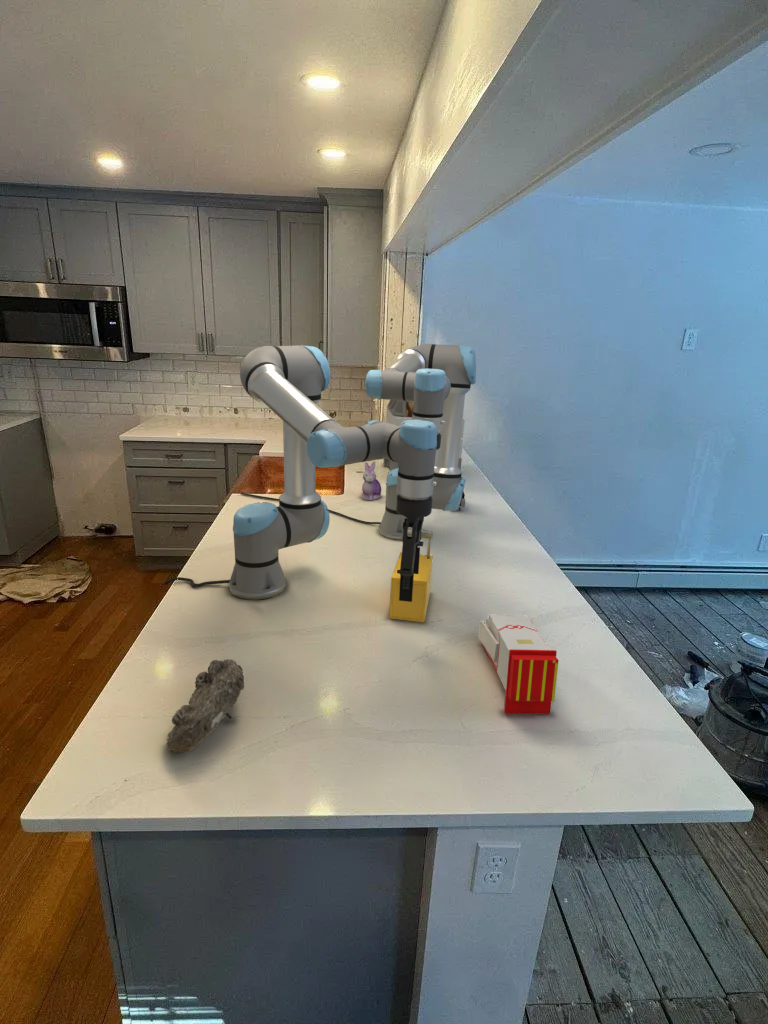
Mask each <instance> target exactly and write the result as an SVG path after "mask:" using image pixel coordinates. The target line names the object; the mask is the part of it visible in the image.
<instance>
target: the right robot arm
mask: <svg viewBox="0 0 768 1024" xmlns="http://www.w3.org/2000/svg"><path fill="white" fill-rule="evenodd" d="M476 360H477V359H476V352H475V349H474V348H473V347H471V346H466V345H461V344H459V345H456V344H438V343H437V344H436V343H435V344H434V343H423V344H418V345H415V346H412V347H409V348H407V349H405V350H403V351H402V352H400V353H399V354H398V356H397V358H396V359H395V361H394V362H393V363H391V364H390V365H389V366H387V367H386V368H384V369H378V368H377V369H370V370H368V372H367V374H366V375H365V376H366V378H365V385H364V386H365V389H364V390H365V394H366V396H367V397H368V398H369V399H377V400H389V401H390V400H401V401H413V402H414V405H413V414H412V420H422V421H429V422H432V423H434V424H435V425H436V428H437V447H436V456H435V468H434V479H433V481H435V482H436V483H437V484H436V486H433V494H432V495H431V497H432V510H442V511H444V512H445V511H451V512H454V511H457V510H459V509H458V507H459V505H460V502H461V498H462V494H463V491H464V489H465V484H466V478H465V477H464V476H462V475H463V472H462V469H461V470H460V469H459V468H458V461H459V451H460V441H461V440H462V438H461V431H462V420H463V419H464V408H465V399H466V395H467V393H468V392H470V391H471V386H472V385H475V384H476V382H477V362H476ZM397 478H398V468H396V469H393V470H391V471H390V470H389V472H388V473H387V475H386V482H385V504H384V505H385V507H384V508H385V509H384V513H383V515H382V519H381V522H380V521H365V520H361V519H358V518H355V517H352V516H349V515H345V514H344V513H341V512H338V511H335V510H331V509H329V508H328V509H327V511H329V513H333V514H335V515H339V516H340V517H343V518H346V519H349V520H351V521H354V522H358V523H362V524H367V525H378V533H379V534H380V535H381V536H382V537H385V538H387V539H389V540H395V541H403V540H402V538H403V535H402V533H403V522H404V520H405V518H406V517H405V516H402V515H400V514H398V513H397V511H396V503H397V496H398V495H399V494H398V493H397ZM240 495H244V496H248V497H253V498H259V499H265V500H271V501H277V502H279V498H276V497H269V496H262V495H256V494H252V493H245V492H240ZM424 519H425V517H423V518H422V517H421V520H423V522H424Z"/></svg>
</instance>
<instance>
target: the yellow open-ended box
mask: <svg viewBox="0 0 768 1024" xmlns="http://www.w3.org/2000/svg"><path fill="white" fill-rule="evenodd" d="M432 573H433V564H432V565H431V569H430V574H429V578H428V583H427V586H426V585H418V584H413V594H412V602H408V601H399V592H400V582H392V581H391V580H390V594H389V595H390V598H389V614H388V619H390V620H391V619H392V620H401V621H409V622H416V623H425V621H426V620H425V619H426V616H427V615H426V614H427V610H428V605H429V601H430V596H431V595H430V594H431V585H432V582H431V581H432Z"/></svg>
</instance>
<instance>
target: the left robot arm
mask: <svg viewBox="0 0 768 1024" xmlns="http://www.w3.org/2000/svg"><path fill="white" fill-rule="evenodd" d="M239 378H240V384H241V385H242V387H243V389H244V391H245V392H246V393H247V395H249V396H250V398H251V399H253V400H254V401H256V402H258V403H262V404H264V405H266V406H267V407H268V408H269V409H270V410H271V411H272V412H273V413H274V414H276V416H277V417H278V418H279V419H280V420H282V429H283V430H282V436H283V438H282V440H283V441H282V442H283V483H284V484H283V485H284V486H283V489H284V490H283V492H282V493H281V494H280V495H279V496H278V499H279V501H278V506H277V505H276V504H274V503H272V502H269V501H263V502H252V503H248V504H246V505H244V506H241V507H240V508H239V509H238V510H236V512H235V513H234V515H233V519H232V520H233V522H232V523H233V524H232V532H233V543H234V546H233V547H234V566H233V570H232V572H231V575H230V579H222V580H221V579H220V580H209V581H203V582H199V583H195V581H194V579H192V578H188V577H181V576H176V577H171V578H169V579H167V580H166V581H164V582H163V585H165V586H166V585H168V584H170V583H172V582H174V581H175V582H176V581H184V582H189V583H190V584H191V586H192V587H195V588H198V587H199V588H200V587H204V586H208V585H220V584H222V585H223V584H229V592H230V593H231V594H232V595H233V596H235V597H236V598H240V599H244V600H248V601H249V600H250V601H251V600H252V601H255V600H256V601H258V600H266V599H270V598H274V597H276V596H278V595H280V594H281V593H283V592H284V591H285V590H286V587H287V581H286V575H285V573H284V571H283V567H282V566H281V563H280V560H279V550H282V549H285V548H290V547H294V546H298V545H302V544H306V543H308V544H309V543H312V542H314V541H317V540H319V539H322V538H323V537H324V536H325V535H326V533H327V532H328V529H329V526H330V519H331V518H330V512H329V511H327V509H329V508H328V505H327V504H326V502H325V501H324V500H323V499H322V496H321V495H320V494H319V493H318V492H317V490H316V485H317V484H316V481H317V480H316V479H317V477H316V476H317V475H316V472H317V471H316V468H319V469H325V468H326V469H327V468H338V467H342V466H348V465H353V464H359V463H365V462H374V461H378V460H379V461H380V460H384V459H388V460H391V461H394V462H397V463H398V478H397V493H398V494H399V495H398V496H397V503H396V511H397V513H398V514H400V515H402V516H405V517H406V518H405V520H404V522H403V538H402V540H401V541H402V545H401V547H402V548H401V552H402V556H401V566H400V570H397V573H398V574H400V592H399V601H408V602H412V594H413V578H414V574H418V573H419V558H420V554H421V547H424V541H421V540H422V539H423V538H422V537H421V531H422V530H423V525H424V521H423V520H421V517H422V518H423V517H424V518H426V517H428V516H430V515H431V514H432V510H433V509H432V497H431V495H432V494H433V486H436V484H437V483H436V482H435V481H433V479H434V468H435V456H436V447H437V428H436V425H435V424H434V423H432V422H429V421H422V420H406V421H404V422H402V423H401V426H397V425H393V424H390V423H388V422H386V420H375V419H374V420H370V421H369V420H368V421H367V422H366V423H365V424H363V425H357V426H356V425H355V426H348V427H344V426H342V424H340V423H339V422H337V421H336V420H335V419H334V418H333V417H331V415H329V414H328V413H327V412H326V411H325V410H323V409H322V408H321V407H320V406H319V405H318V404H319V403H320V402H321V400H322V393H323V392H324V391H326V390H327V389H328V388H329V385H330V383H331V378H332V377H331V368H330V363H329V361H328V358H327V357H326V356H325V353H324V352H323V351H322V350H321V349H319V348H318V347H317V346H312V345H304V344H301V345H263V346H259V347H256V348H254V349H253V350H251V351H250V352H248V354H247V355H246V356H245V357H244V359H243V360H242V362H241V365H240V369H239ZM177 579H178V580H177Z"/></svg>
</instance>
